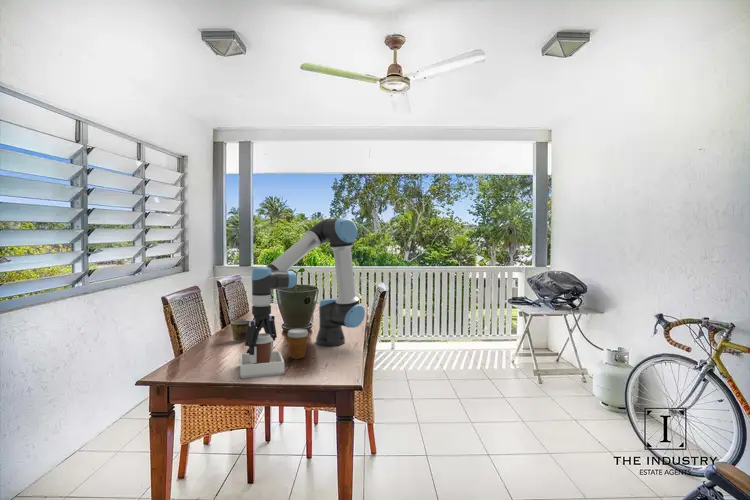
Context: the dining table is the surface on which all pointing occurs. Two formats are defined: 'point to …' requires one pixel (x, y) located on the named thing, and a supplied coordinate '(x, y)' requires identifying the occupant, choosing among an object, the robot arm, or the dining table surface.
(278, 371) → the box
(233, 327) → the ceramic cup
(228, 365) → the dining table surface
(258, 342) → the coffee cup
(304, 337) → the disposable coffee cup
